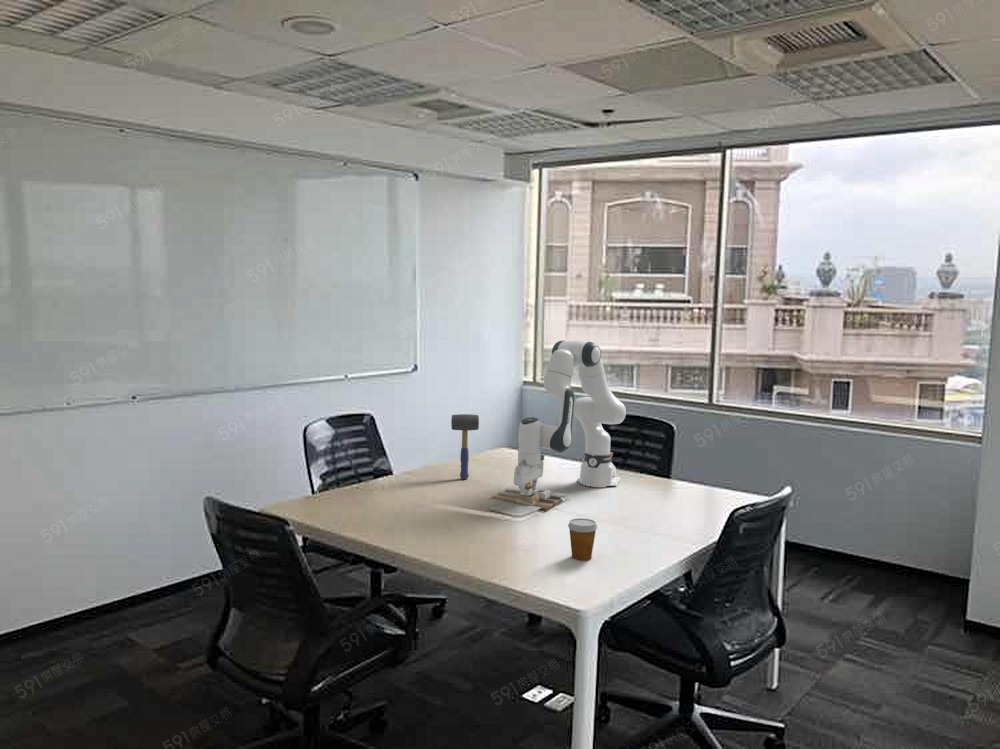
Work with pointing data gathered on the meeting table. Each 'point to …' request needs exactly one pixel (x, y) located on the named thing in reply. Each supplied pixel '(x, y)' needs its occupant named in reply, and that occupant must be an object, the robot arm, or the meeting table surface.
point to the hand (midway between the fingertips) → (528, 492)
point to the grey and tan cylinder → (528, 489)
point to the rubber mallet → (465, 437)
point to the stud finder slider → (542, 493)
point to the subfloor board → (511, 497)
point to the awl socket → (527, 499)
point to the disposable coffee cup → (582, 538)
